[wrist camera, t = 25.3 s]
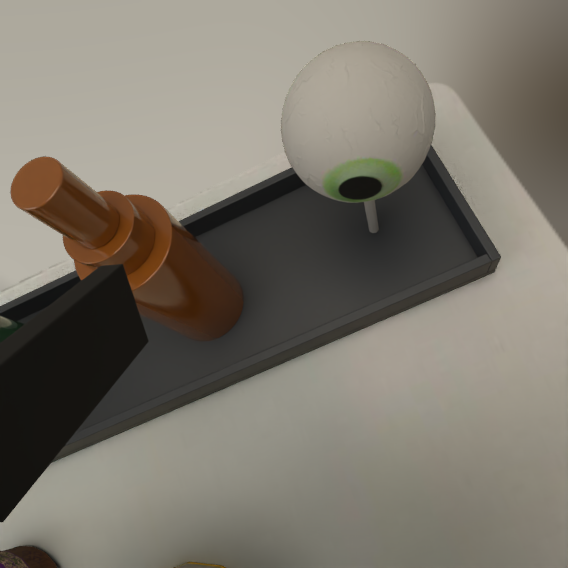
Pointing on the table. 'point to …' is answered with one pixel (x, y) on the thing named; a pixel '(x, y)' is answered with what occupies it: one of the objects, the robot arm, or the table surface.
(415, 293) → the tray
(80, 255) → the bottle mid
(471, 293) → the table surface
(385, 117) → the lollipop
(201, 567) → the soap bottle
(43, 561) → the mug
